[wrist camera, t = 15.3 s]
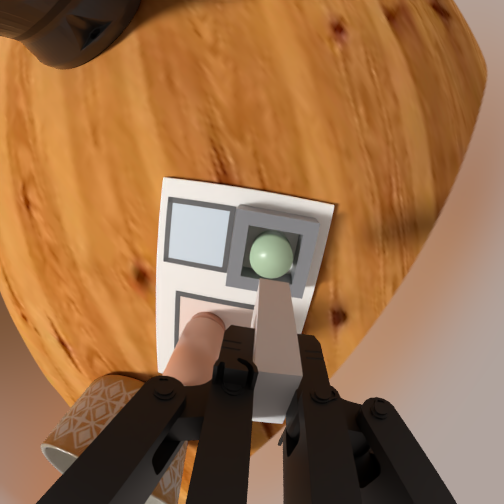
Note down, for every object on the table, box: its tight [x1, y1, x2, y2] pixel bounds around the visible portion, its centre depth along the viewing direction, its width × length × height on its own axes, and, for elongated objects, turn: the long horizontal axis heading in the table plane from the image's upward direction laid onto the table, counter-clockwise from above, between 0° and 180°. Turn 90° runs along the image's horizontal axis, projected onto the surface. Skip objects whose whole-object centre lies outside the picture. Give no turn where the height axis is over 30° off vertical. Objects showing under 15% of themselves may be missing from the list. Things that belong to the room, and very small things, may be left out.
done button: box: [250, 230, 293, 278], centre depth 24 cm, size 4×4×2 cm
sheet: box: [156, 177, 335, 373], centre depth 28 cm, size 16×24×1 cm, turn 171°
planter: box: [41, 375, 188, 504], centre depth 28 cm, size 19×19×16 cm
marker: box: [162, 312, 226, 386], centre depth 23 cm, size 4×4×12 cm
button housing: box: [225, 204, 320, 299], centre depth 25 cm, size 7×7×2 cm
